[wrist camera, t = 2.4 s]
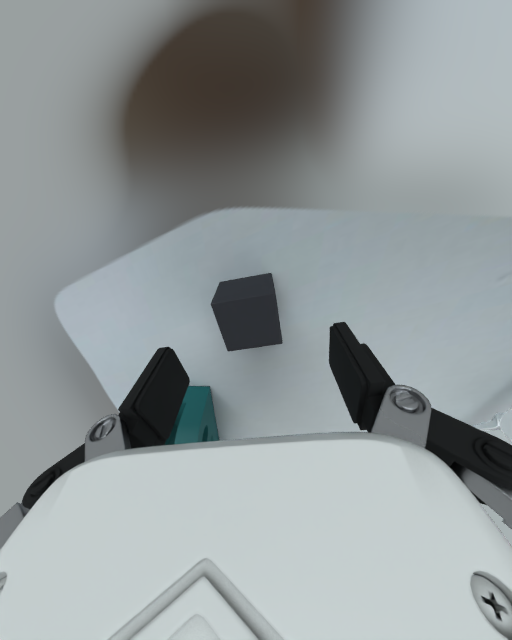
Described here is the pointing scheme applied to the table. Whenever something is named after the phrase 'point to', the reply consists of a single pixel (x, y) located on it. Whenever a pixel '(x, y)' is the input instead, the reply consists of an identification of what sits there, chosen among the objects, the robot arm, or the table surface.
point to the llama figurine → (499, 424)
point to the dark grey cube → (247, 312)
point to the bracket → (195, 418)
